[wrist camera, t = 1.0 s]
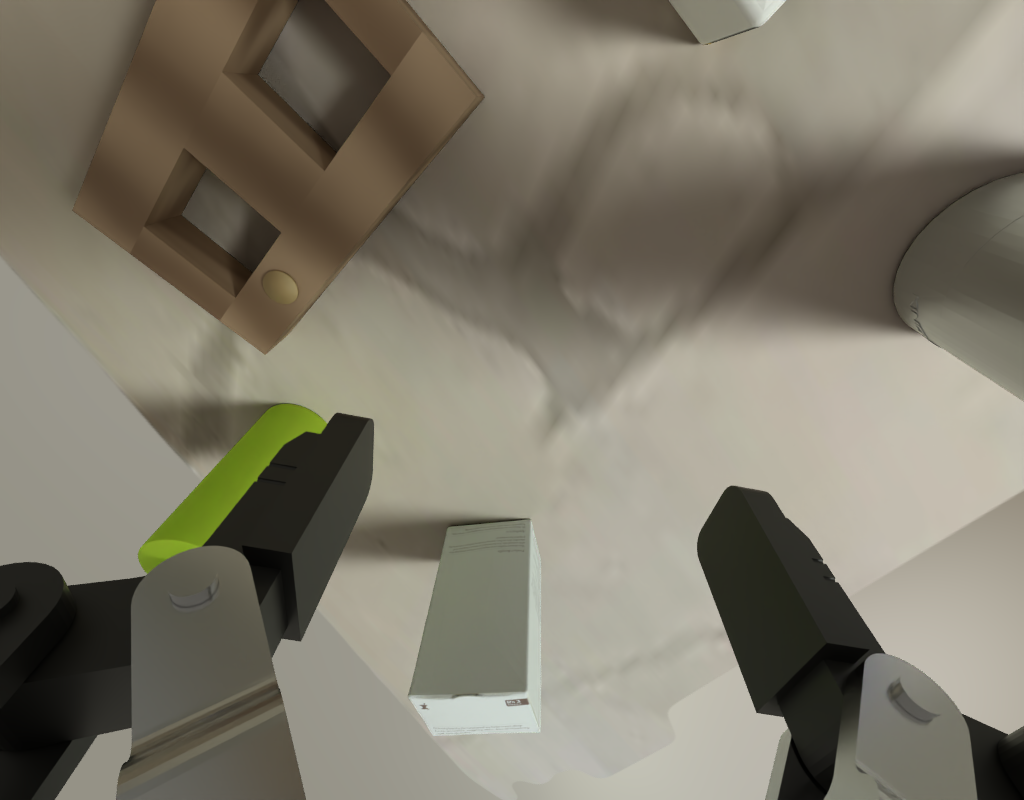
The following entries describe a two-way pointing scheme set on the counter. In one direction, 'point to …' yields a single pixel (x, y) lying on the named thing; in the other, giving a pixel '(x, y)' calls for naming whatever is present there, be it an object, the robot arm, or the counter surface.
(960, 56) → the counter surface
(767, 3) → the medicine bottle
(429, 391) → the counter surface
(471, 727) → the skincare box
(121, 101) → the board
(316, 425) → the soap dispenser
